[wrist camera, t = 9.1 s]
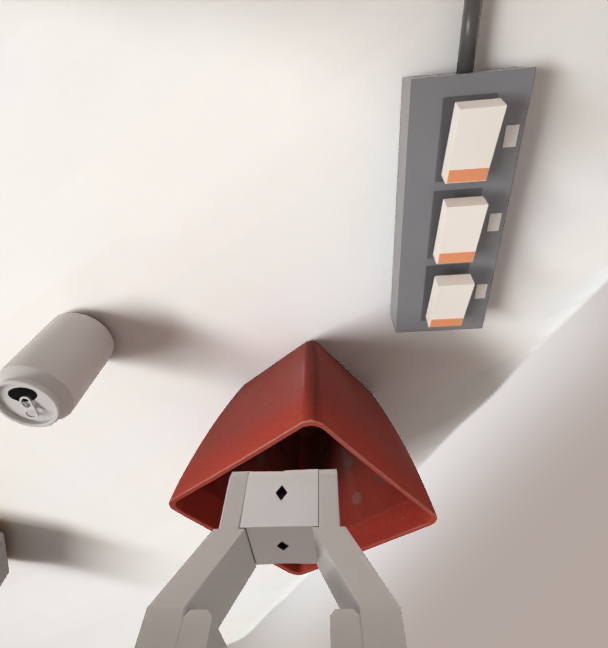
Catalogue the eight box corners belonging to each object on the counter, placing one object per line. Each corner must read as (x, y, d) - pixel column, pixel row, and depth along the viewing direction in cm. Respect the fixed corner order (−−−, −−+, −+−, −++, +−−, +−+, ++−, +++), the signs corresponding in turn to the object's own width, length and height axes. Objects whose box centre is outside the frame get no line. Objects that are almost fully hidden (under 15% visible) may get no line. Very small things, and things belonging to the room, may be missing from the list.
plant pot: (301, 457, 59) (296, 580, 45) (204, 386, 51) (162, 506, 37) (408, 398, 52) (442, 522, 38) (313, 304, 44) (313, 416, 30)
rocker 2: (443, 198, 32) (447, 207, 31) (482, 195, 32) (489, 205, 31) (432, 254, 36) (436, 264, 35) (468, 252, 36) (473, 262, 35)
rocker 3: (434, 275, 36) (438, 287, 35) (470, 273, 36) (475, 284, 35) (425, 316, 40) (428, 327, 39) (457, 315, 40) (461, 326, 39)
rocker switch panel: (407, -19, 29) (418, -29, 26) (534, -33, 28) (560, -45, 25) (390, 314, 44) (395, 332, 41) (471, 310, 44) (482, 328, 41)
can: (100, 304, 45) (38, 373, 35) (127, 355, 49) (78, 429, 39) (41, 312, 46) (-37, 382, 36) (72, 362, 50) (11, 436, 40)
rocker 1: (455, 102, 28) (460, 109, 27) (500, 98, 28) (507, 105, 27) (441, 175, 32) (445, 184, 31) (480, 172, 32) (486, 181, 31)
